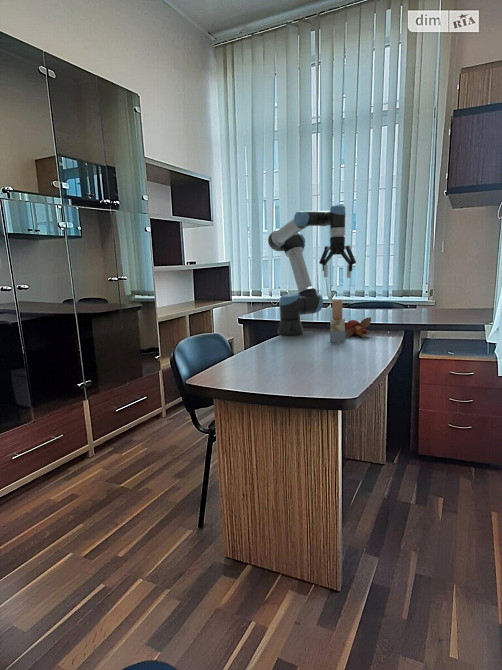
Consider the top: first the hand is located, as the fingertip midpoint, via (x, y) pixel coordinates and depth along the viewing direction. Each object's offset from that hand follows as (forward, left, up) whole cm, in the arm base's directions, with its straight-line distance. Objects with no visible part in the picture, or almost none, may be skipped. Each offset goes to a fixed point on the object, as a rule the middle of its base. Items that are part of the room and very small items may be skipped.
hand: (336, 277), depth 214 cm
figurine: (+7, +10, -33) cm, 36 cm away
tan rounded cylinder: (+3, -7, -21) cm, 22 cm away
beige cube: (+4, -7, -27) cm, 28 cm away
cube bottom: (+4, -7, -33) cm, 34 cm away
